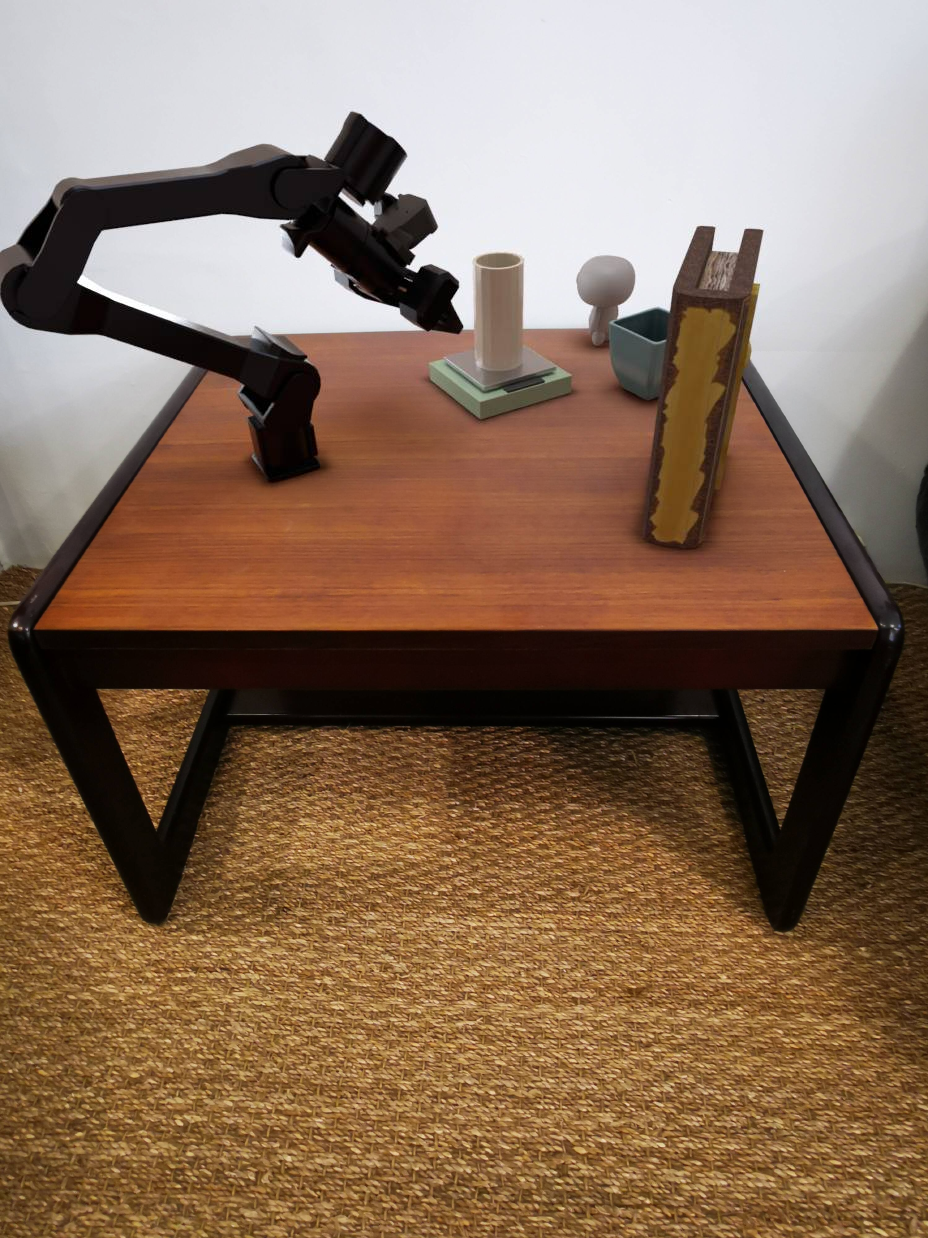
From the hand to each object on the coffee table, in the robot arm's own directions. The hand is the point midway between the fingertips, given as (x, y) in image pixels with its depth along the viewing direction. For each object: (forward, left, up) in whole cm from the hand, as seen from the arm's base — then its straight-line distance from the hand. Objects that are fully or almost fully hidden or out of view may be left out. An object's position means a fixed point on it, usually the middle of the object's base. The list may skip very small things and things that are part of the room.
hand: (438, 318), depth 100 cm
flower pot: (+26, -10, -12) cm, 30 cm away
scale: (+10, +2, -12) cm, 15 cm away
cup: (+10, +2, -8) cm, 13 cm away
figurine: (+30, +6, -12) cm, 33 cm away
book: (+14, -31, -12) cm, 36 cm away
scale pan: (+10, +2, -9) cm, 13 cm away
